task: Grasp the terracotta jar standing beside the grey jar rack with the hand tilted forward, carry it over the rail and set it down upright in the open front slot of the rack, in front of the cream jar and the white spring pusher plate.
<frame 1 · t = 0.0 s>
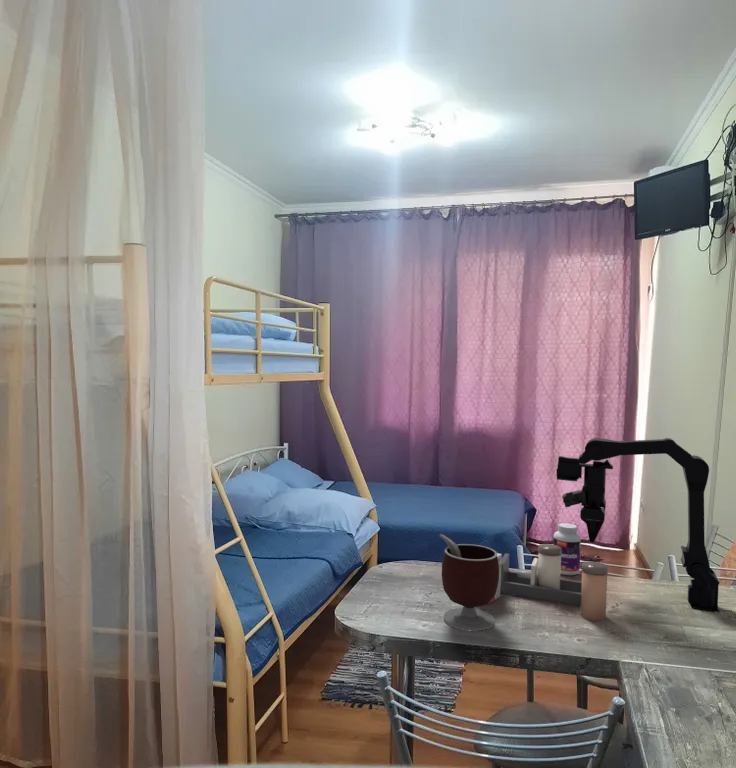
hand: (592, 537, 174), 15 cm above the table, tool pointing down, fingers open, 9 cm apart
pill bottle: (565, 572, 188), on the table
ink box: (486, 599, 165), on the table
pusher: (526, 574, 172), point 4 cm above the table, slide at 0.0 cm
mate gourd: (465, 620, 151), on the table
terracotta jar: (593, 616, 155), on the table
cream jar: (548, 593, 170), resting in grey jar rack
grey jar rack: (575, 597, 167), on the table
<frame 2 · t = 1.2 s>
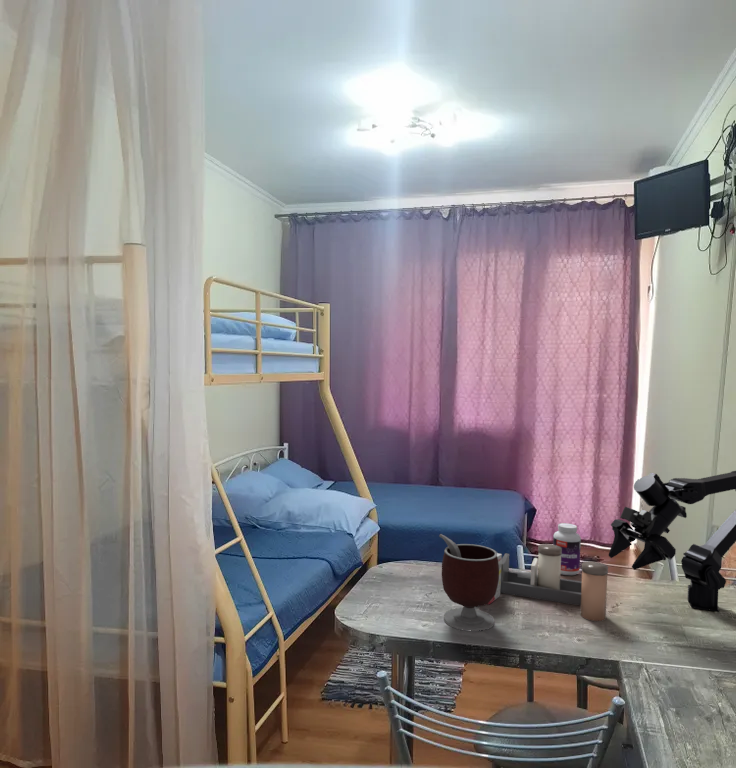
hand: (621, 562, 157), 13 cm above the table, tool tilted 45°, fingers open, 9 cm apart
nothing on the table moved.
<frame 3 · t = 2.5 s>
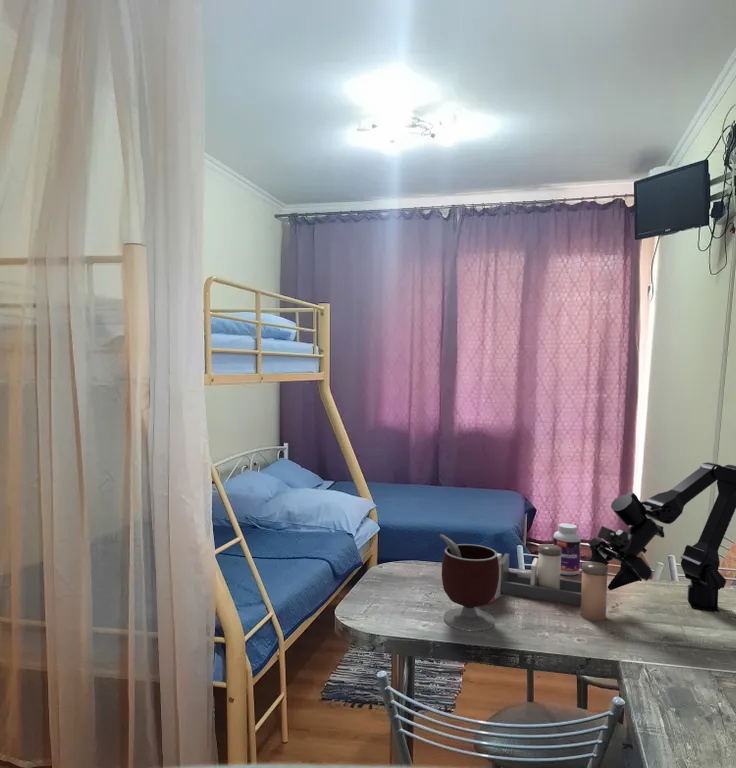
hand: (597, 582, 155), 9 cm above the table, tool tilted 45°, fingers open, 9 cm apart
nothing on the table moved.
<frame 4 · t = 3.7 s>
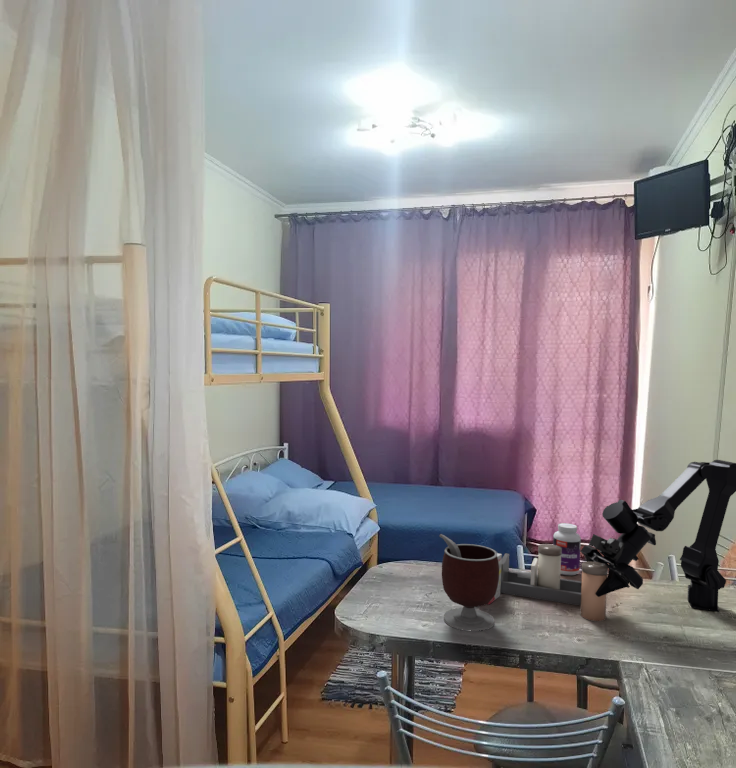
hand: (589, 590, 154), 7 cm above the table, tool tilted 45°, fingers closed on terracotta jar, 6 cm apart
terracotta jar: (592, 616, 155), on the table, touching gripper
everything else where it was.
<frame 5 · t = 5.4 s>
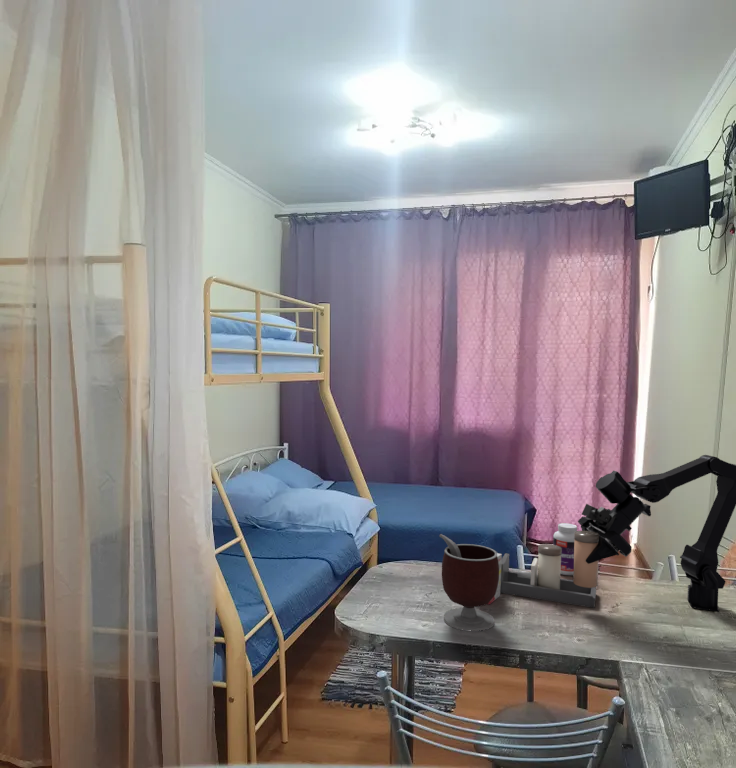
hand: (581, 558, 159), 13 cm above the table, tool tilted 45°, fingers closed on terracotta jar, 6 cm apart
terracotta jar: (585, 583, 159), point 7 cm above the table, touching gripper
everything else where it was.
when the fingers open (8 cm above the table, at t = 7.4 s): terracotta jar drops 1 cm, resting in grey jar rack.
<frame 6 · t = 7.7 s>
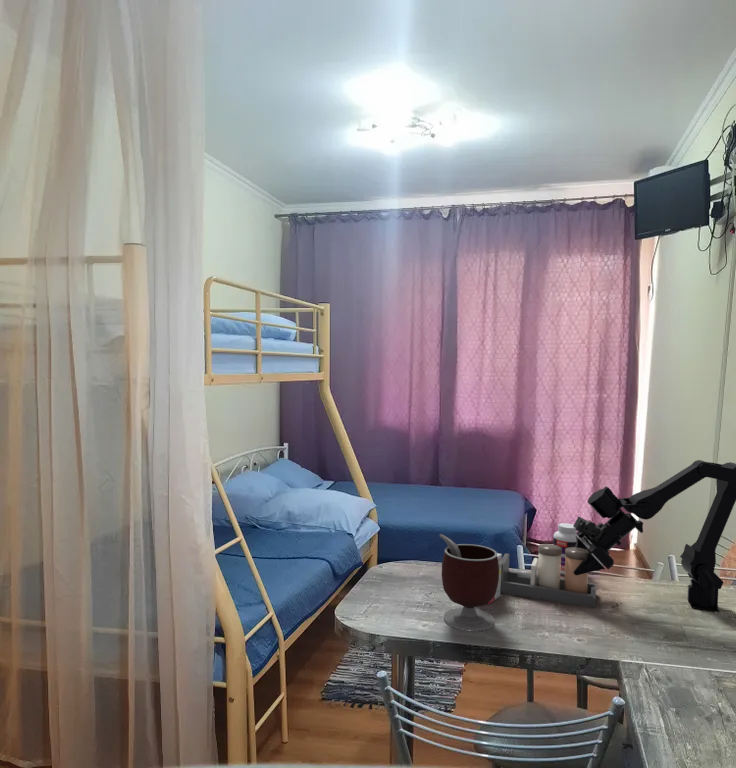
hand: (570, 568, 167), 8 cm above the table, tool tilted 45°, fingers open, 9 cm apart
terracotta jar: (575, 597, 167), resting in grey jar rack
everything else where it was.
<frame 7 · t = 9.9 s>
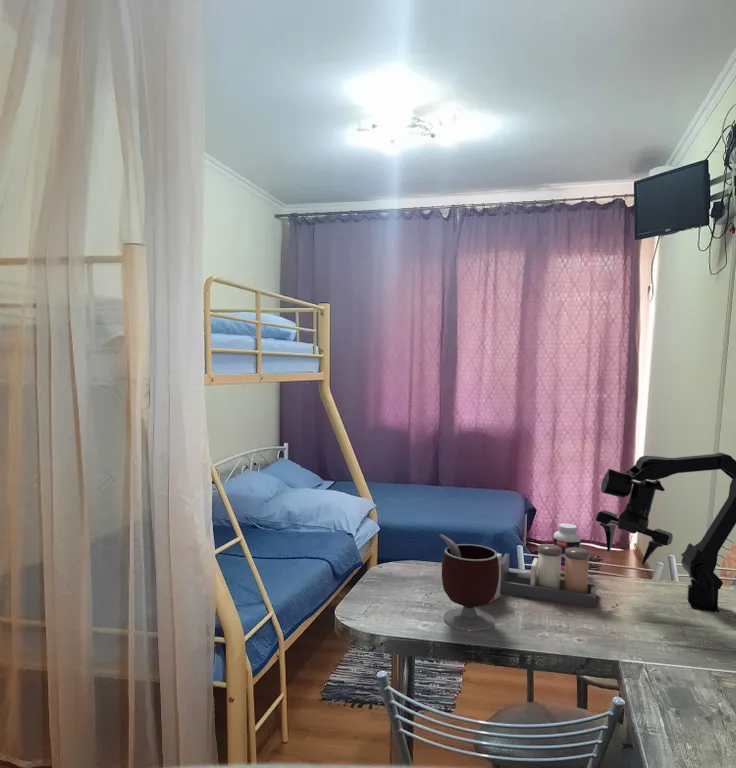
hand: (625, 557, 166), 12 cm above the table, tool pointing down, fingers open, 9 cm apart
nothing on the table moved.
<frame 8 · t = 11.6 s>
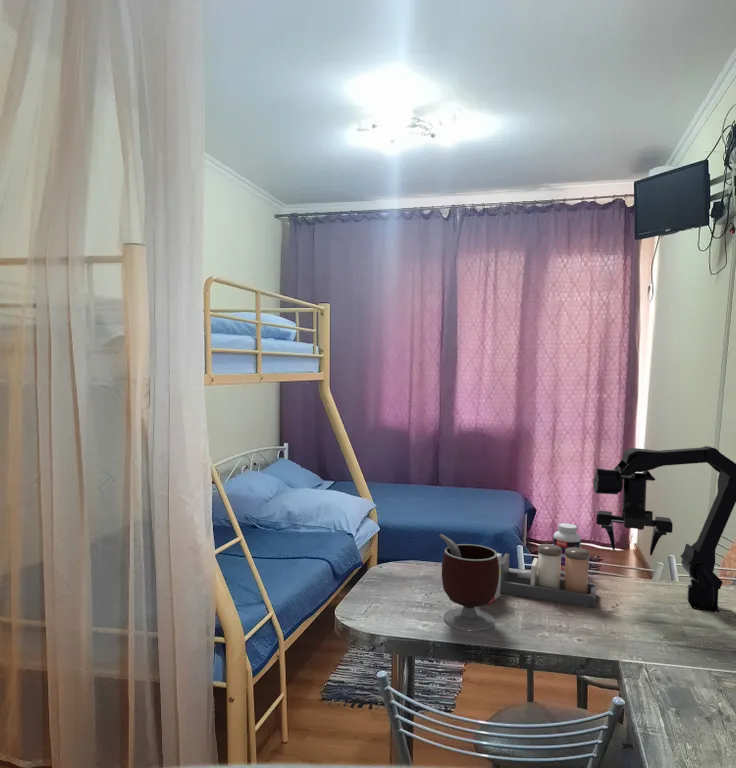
hand: (632, 552, 166), 13 cm above the table, tool pointing down, fingers open, 9 cm apart
nothing on the table moved.
at the end: terracotta jar 0.1 cm off-centre on the grey jar rack, point 0.0 cm above the grey jar rack's base; terracotta jar tilted 0°; cream jar moved 0.0 cm from its start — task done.
